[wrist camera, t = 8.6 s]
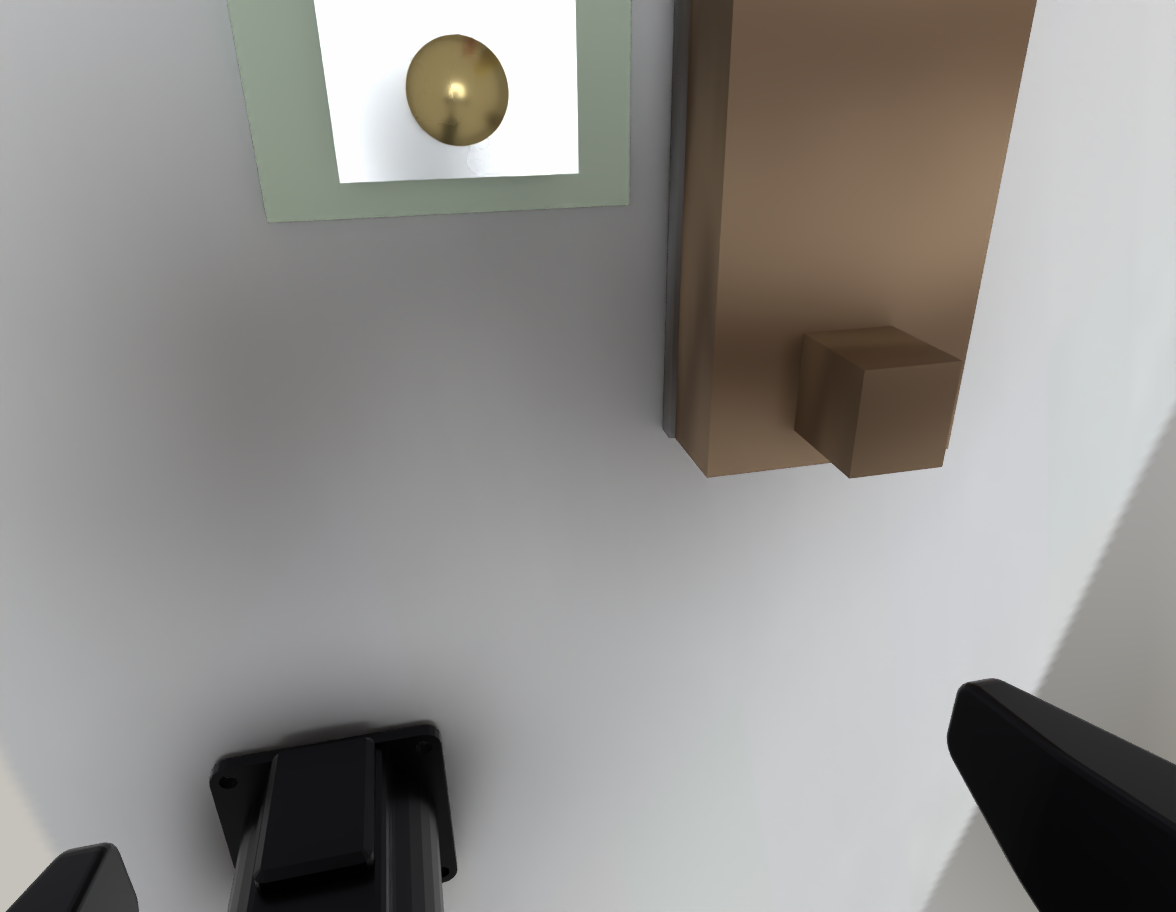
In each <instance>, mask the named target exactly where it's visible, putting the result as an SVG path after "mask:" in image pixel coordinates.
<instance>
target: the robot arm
mask: <svg viewBox="0 0 1176 912" xmlns="http://www.w3.org/2000/svg"><path fill="white" fill-rule="evenodd" d="M422 741H429V743H426V744H420V743H419V742H422ZM947 744H948V749H949V752H950V755H951V757H952V759H953V761H954V763H955V765H956V767H957V769H958V770H959V772H960V774H961V776H962V778H963V780H964V781H965V783H966V785H967V787H968V789H969V791H970V792H971V794H972V796H973V798H974V800H975V802H976V803H977V805H978V807H979V809H980V811H981V813H982V814H983V816H984V818H985V820H986V822H987V823H988V825H989V827H990V829H991V831H992V833H993V834H994V836H995V838H996V840H997V842H998V844H999V846H1000V847H1001V849H1002V851H1003V853H1004V855H1005V857H1006V858H1007V860H1008V862H1009V863H1010V865H1011V867H1012V869H1013V871H1014V872H1015V874H1016V876H1017V877H1018V879H1019V881H1020V883H1021V884H1022V886H1023V887H1024V889H1025V890H1026V892H1027V893H1028V895H1029V896H1030V898H1031V900H1032V901H1033V903H1034V904H1035V906H1036V907H1037V909H1038V910H1039V912H1176V765H1175V764H1173V763H1171V762H1169V761H1167V760H1165V759H1163V758H1161V757H1159V756H1157V755H1155V754H1153V753H1150V752H1149V751H1147V750H1144V749H1142V748H1140V747H1138V746H1136V745H1134V744H1132V743H1130V742H1128V741H1126V740H1124V739H1121V738H1120V737H1117V736H1116V735H1114V734H1111V733H1109V732H1107V731H1105V730H1103V729H1101V728H1099V727H1097V726H1095V725H1093V724H1091V723H1089V722H1087V721H1085V720H1083V719H1081V718H1078V717H1076V716H1074V715H1072V714H1070V713H1068V712H1066V711H1064V710H1062V709H1060V708H1058V707H1056V706H1054V705H1052V704H1050V703H1048V702H1045V701H1043V700H1041V699H1039V698H1037V697H1035V696H1033V695H1031V694H1029V693H1027V692H1025V691H1023V690H1021V689H1019V688H1017V687H1015V686H1012V685H1010V684H1008V683H1006V682H1004V681H1002V680H999V679H994V678H989V679H983V680H978V681H972V682H967V683H965V684H963V685H962V686H961V687H960V688H959V689H958V692H957V695H956V699H955V703H954V707H953V711H952V715H951V719H950V724H949V728H948V732H947ZM224 776H234V778H226V777H224ZM209 782H210V789H211V792H212V795H213V799H214V802H215V805H216V809H217V812H218V815H219V818H220V822H221V825H222V828H223V832H224V835H225V838H226V842H227V845H228V848H229V851H230V855H231V858H232V861H233V865H234V868H235V873H234V879H233V884H232V889H231V895H230V900H229V905H228V911H227V912H444V906H443V892H442V883H444V882H446V881H449V880H451V879H452V878H453V877H454V876H455V875H456V873H457V861H456V852H455V844H454V836H453V828H452V820H451V812H450V804H449V796H448V788H447V780H446V772H445V764H444V756H443V748H442V741H441V734H440V732H439V730H438V729H437V728H436V727H434V726H431V725H420V726H414V727H408V728H402V729H396V730H391V731H385V732H379V733H373V734H367V735H362V736H356V737H350V738H344V739H338V740H332V741H327V742H321V743H315V744H309V745H303V746H298V747H292V748H286V749H280V750H274V751H269V752H263V753H257V754H251V755H245V756H240V757H234V758H228V759H224V760H221V761H219V762H218V763H217V764H215V766H214V767H213V769H212V772H211V776H210V780H209ZM6 912H139V908H138V901H137V897H136V894H135V891H134V889H133V886H132V883H131V881H130V878H129V876H128V873H127V871H126V868H125V865H124V863H123V860H122V858H121V855H120V853H119V851H118V849H117V847H116V846H114V845H113V844H111V843H100V844H95V845H89V846H84V847H79V848H73V849H69V850H67V851H65V852H63V853H62V854H60V855H59V856H58V857H57V858H56V859H55V860H54V861H53V862H52V863H51V864H50V865H49V866H48V867H47V868H46V869H45V870H44V872H42V873H41V875H40V876H39V877H38V878H37V879H36V880H35V881H34V882H33V883H32V884H31V885H30V886H29V887H28V888H27V890H26V891H25V892H24V893H23V894H22V895H21V896H20V897H19V898H18V899H17V900H16V901H15V902H14V903H13V905H11V907H10V908H9V909H8V910H7V911H6Z"/></svg>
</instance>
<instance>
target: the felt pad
mask: <svg viewBox="0 0 1176 912" xmlns="http://www.w3.org/2000/svg"><path fill="white" fill-rule="evenodd" d="M227 5H228V10H229V16H230V21H231V27H232V32H233V37H234V43H235V48H236V54H237V59H238V65H239V70H240V76H241V81H242V87H243V92H244V98H245V103H246V109H247V114H248V120H249V125H250V130H251V136H252V141H253V147H254V152H255V158H256V163H257V169H258V174H259V180H260V185H261V191H262V196H263V202H264V207H265V213H266V218H267V223H276V222H296V221H316V220H337V219H357V218H377V217H397V216H417V215H437V214H457V213H477V212H497V211H517V210H537V209H557V208H577V207H597V206H617V205H629V197H630V66H631V0H575V11H576V66H577V120H578V173H573V174H549V175H524V176H500V177H476V178H451V179H427V180H403V181H379V182H354V183H340V179H339V172H338V165H337V157H336V150H335V143H334V136H333V129H332V122H331V115H330V108H329V101H328V94H327V87H326V80H325V73H324V65H323V58H322V51H321V44H320V37H319V30H318V23H317V16H316V9H315V2H314V0H227Z"/></svg>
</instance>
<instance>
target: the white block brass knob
mask: <svg viewBox="0 0 1176 912" xmlns="http://www.w3.org/2000/svg"><path fill="white" fill-rule="evenodd" d="M314 2H315V9H316V16H317V23H318V30H319V37H320V44H321V51H322V58H323V65H324V73H325V80H326V87H327V94H328V101H329V108H330V115H331V122H332V129H333V136H334V143H335V150H336V157H337V165H338V172H339V179H340V183H354V182H379V181H403V180H427V179H451V178H476V177H500V176H524V175H549V174H573V173H578V120H577V66H576V11H575V0H314Z"/></svg>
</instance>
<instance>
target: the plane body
mask: <svg viewBox="0 0 1176 912" xmlns="http://www.w3.org/2000/svg"><path fill="white" fill-rule="evenodd" d="M1036 2H1037V0H675V14H674V49H673V85H672V120H671V155H670V191H669V226H668V261H667V297H666V332H665V367H664V403H663V430H664V432H665V433H666V434H667V436H668V437H669V438H676V440H677V441H678V442H679V443H680V445H681V446H682V447H683V448H684V450H685V451H686V452H687V453H688V455H689V456H690V457H691V458H692V460H693V461H694V462H695V463H696V465H697V466H698V467H699V468H700V470H701V471H702V472H703V473H704V475H705V476H706V477H707V478H709V477H717V476H725V475H733V474H742V473H750V472H758V471H766V470H775V469H783V468H791V467H799V466H808V465H816V464H824V463H832V464H833V465H835V466H836V467H837V468H838V469H839V470H840V471H841V472H843V473H844V474H845V475H846V476H847V477H848V478H857V477H865V476H873V475H881V474H889V473H897V472H905V471H912V470H920V469H928V468H936V467H942V465H943V460H944V455H945V450H946V449H948V445H949V440H950V435H951V430H952V425H953V420H954V414H955V409H956V404H957V399H958V394H959V389H960V384H961V379H962V374H963V369H964V364H965V359H966V354H967V349H968V344H969V339H970V334H971V329H972V324H973V319H974V314H975V309H976V304H977V299H978V294H979V289H980V284H981V279H982V274H983V268H984V263H985V258H986V253H987V248H988V243H989V238H990V233H991V228H992V223H993V218H994V213H995V208H996V203H997V198H998V193H999V188H1000V183H1001V178H1002V173H1003V168H1004V163H1005V158H1006V153H1007V148H1008V143H1009V138H1010V133H1011V128H1012V123H1013V117H1014V112H1015V107H1016V102H1017V97H1018V92H1019V87H1020V82H1021V77H1022V72H1023V67H1024V62H1025V57H1026V52H1027V47H1028V42H1029V37H1030V32H1031V27H1032V22H1033V17H1034V12H1035V7H1036Z"/></svg>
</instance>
